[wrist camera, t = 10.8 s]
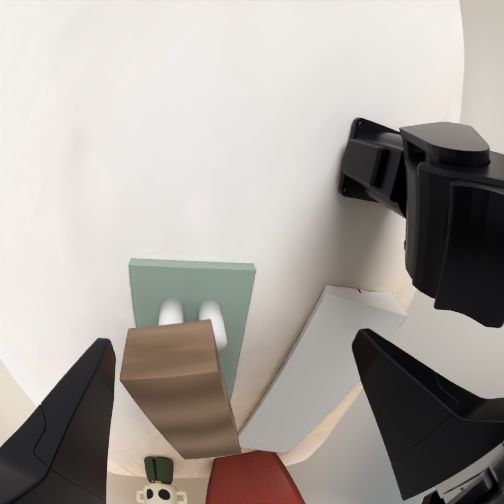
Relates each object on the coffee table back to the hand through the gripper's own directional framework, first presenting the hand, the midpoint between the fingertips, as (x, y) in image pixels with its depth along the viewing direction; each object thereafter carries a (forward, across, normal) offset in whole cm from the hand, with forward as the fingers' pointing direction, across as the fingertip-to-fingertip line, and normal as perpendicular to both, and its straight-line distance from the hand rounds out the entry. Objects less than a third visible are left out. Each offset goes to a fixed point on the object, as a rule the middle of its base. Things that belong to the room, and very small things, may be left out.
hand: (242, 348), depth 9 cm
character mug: (+13, +11, +53) cm, 55 cm away
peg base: (+13, +2, +14) cm, 19 cm away
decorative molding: (+14, -12, +24) cm, 30 cm away
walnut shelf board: (+8, +2, +14) cm, 16 cm away
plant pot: (+13, -8, +57) cm, 59 cm away
